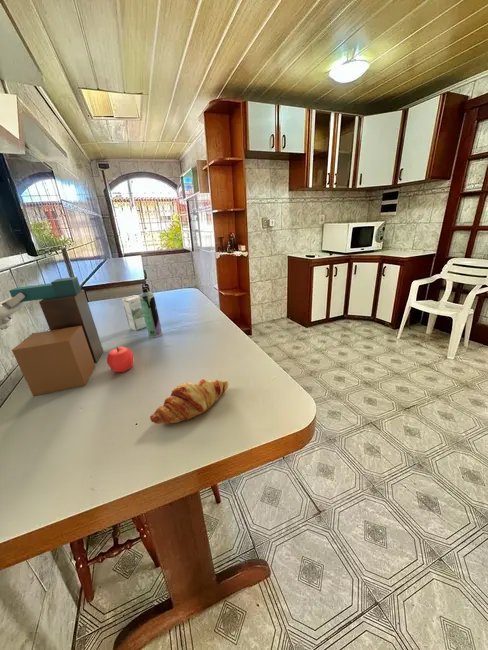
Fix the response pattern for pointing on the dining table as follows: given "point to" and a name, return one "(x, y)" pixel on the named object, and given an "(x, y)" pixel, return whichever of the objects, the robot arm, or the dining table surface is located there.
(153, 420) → the croissant
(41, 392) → the carton
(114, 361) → the apple
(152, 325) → the spray can
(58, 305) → the stand
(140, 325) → the syrup box
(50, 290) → the teal stepped bar
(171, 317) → the dining table surface
